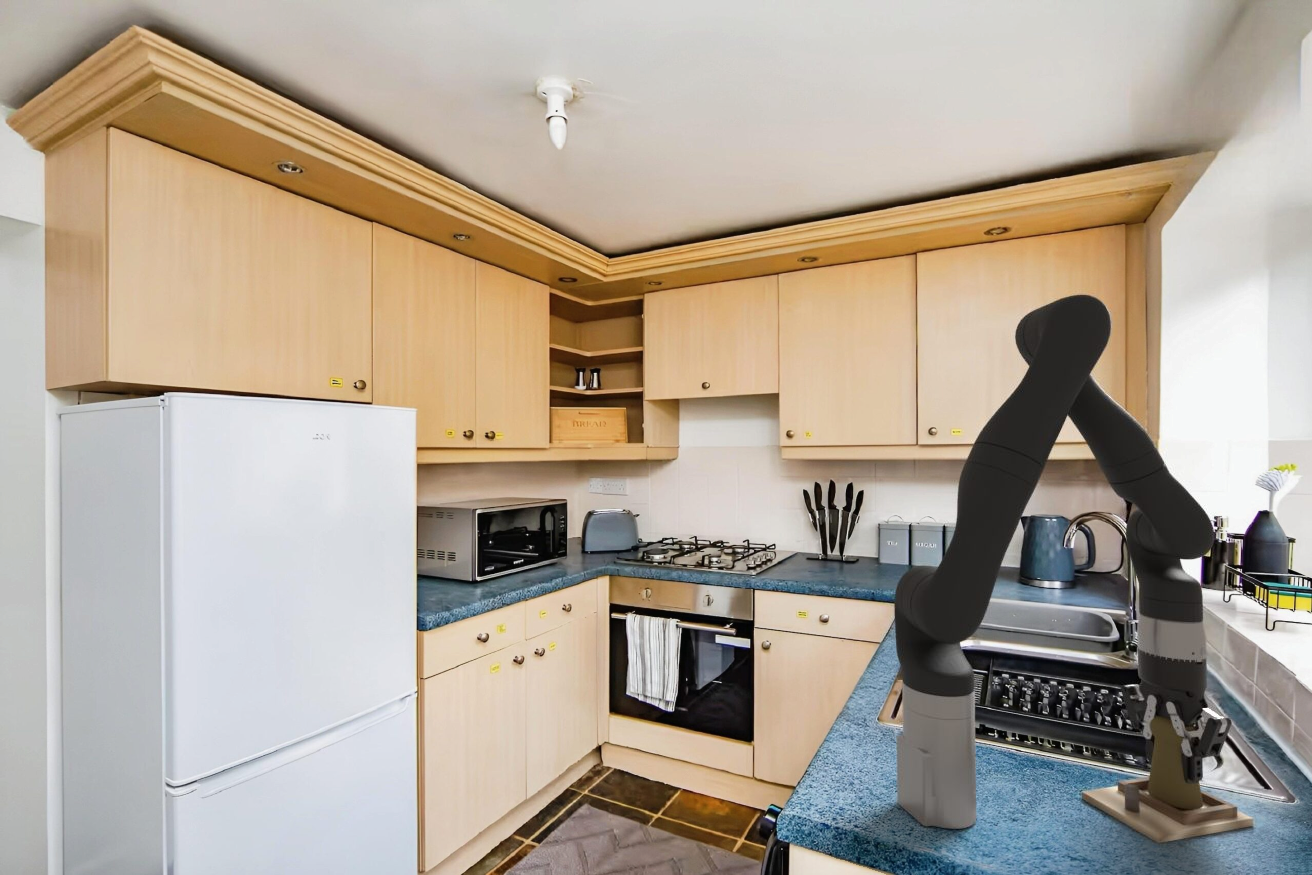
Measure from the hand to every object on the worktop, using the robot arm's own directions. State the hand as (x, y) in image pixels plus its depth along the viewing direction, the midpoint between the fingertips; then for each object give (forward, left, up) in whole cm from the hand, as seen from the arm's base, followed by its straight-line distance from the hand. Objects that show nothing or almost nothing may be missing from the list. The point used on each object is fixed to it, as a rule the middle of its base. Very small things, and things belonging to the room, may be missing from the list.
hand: (1173, 773), depth 89 cm
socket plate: (-2, 0, -5) cm, 5 cm away
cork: (0, 0, -3) cm, 3 cm away
